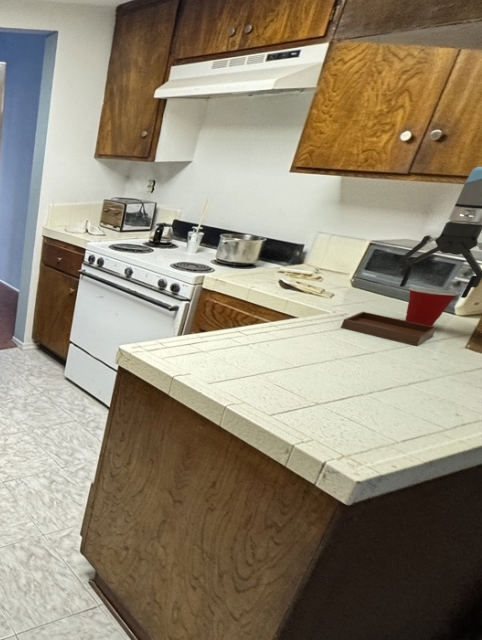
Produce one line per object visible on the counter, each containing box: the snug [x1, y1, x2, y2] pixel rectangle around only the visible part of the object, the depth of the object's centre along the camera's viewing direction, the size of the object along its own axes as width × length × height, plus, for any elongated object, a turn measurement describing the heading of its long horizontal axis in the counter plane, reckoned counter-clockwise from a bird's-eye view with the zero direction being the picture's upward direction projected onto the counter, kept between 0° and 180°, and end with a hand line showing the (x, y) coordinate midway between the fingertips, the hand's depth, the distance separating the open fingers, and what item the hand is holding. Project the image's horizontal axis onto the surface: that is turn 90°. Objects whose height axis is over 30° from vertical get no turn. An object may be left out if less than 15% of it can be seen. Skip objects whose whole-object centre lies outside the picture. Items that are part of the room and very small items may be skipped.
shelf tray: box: [340, 311, 438, 347], centre depth 144 cm, size 17×16×3 cm
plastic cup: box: [404, 286, 460, 327], centre depth 148 cm, size 11×11×12 cm
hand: (431, 291), depth 147 cm, fingers open, 13 cm apart
